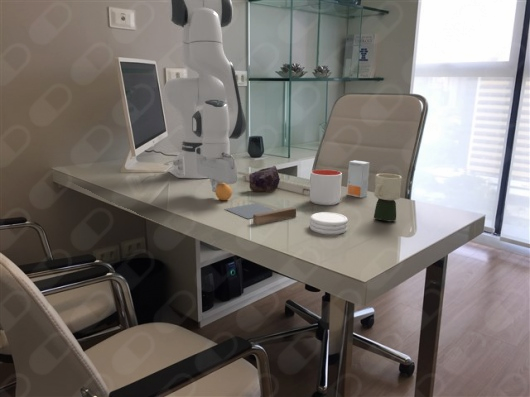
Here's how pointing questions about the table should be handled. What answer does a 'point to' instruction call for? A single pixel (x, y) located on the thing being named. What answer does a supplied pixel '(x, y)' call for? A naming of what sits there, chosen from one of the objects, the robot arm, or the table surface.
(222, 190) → the ball
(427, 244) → the table surface
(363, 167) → the skincare box
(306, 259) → the table surface
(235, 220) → the table surface
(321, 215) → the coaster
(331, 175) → the cup
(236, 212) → the grey mark
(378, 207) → the character mug
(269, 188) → the rock
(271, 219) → the walnut bar
